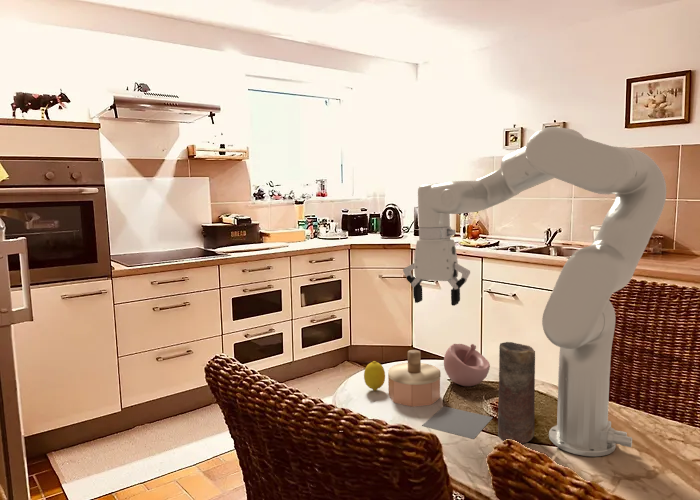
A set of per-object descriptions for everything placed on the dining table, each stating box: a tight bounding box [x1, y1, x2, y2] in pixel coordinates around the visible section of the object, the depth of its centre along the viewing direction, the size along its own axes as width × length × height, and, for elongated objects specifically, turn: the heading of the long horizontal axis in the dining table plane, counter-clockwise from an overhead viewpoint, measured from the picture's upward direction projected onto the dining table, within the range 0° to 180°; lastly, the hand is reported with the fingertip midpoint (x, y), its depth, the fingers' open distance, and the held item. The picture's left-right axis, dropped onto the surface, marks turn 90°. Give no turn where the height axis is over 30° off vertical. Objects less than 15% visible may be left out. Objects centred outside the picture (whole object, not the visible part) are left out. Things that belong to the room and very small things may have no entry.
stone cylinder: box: [497, 341, 536, 444], centre depth 111 cm, size 8×7×20 cm
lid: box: [387, 349, 442, 385], centre depth 133 cm, size 13×13×6 cm
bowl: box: [387, 376, 441, 408], centre depth 134 cm, size 12×12×6 cm
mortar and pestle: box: [443, 343, 491, 387], centre depth 142 cm, size 12×12×11 cm
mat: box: [421, 405, 494, 440], centre depth 119 cm, size 12×12×1 cm
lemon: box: [363, 360, 386, 392], centre depth 139 cm, size 6×6×8 cm
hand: (436, 303), depth 132 cm, fingers open, 9 cm apart
